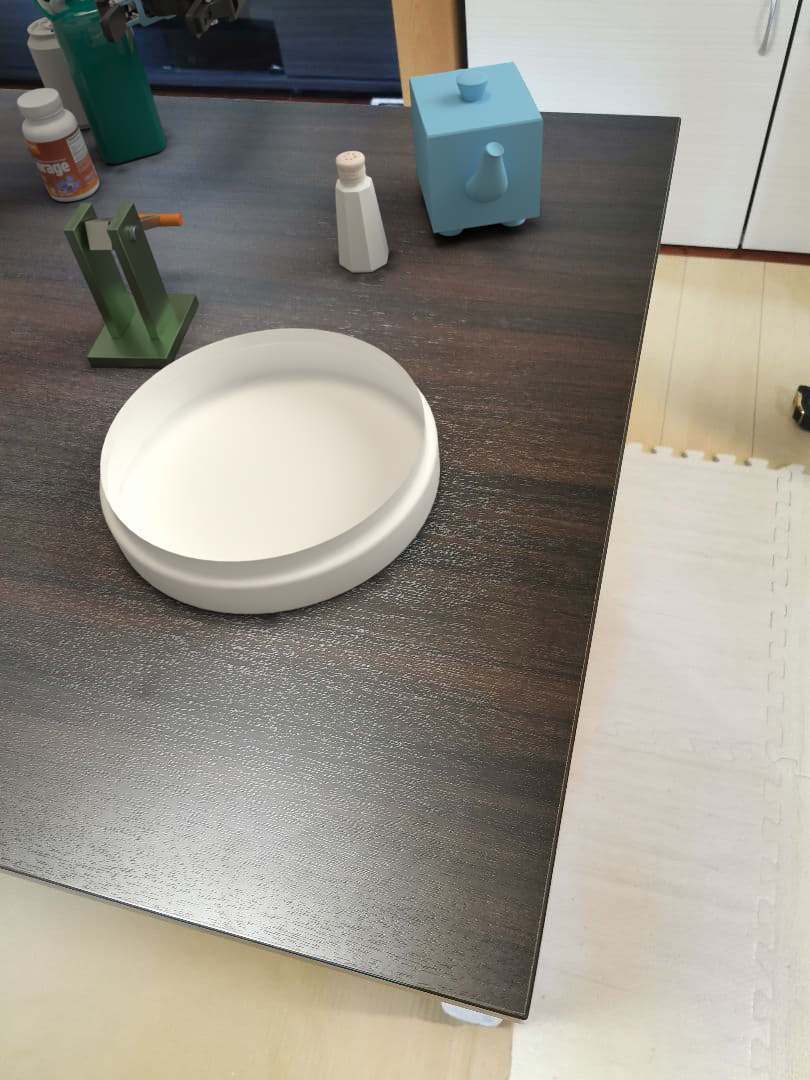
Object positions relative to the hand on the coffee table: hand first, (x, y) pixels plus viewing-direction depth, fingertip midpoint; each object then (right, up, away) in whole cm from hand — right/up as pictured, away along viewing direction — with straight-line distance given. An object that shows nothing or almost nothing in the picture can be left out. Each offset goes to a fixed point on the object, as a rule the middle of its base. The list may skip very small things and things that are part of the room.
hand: (149, 30), depth 81 cm
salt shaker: (+20, -20, +7) cm, 29 cm away
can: (-19, +8, +34) cm, 40 cm away
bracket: (-1, -29, +2) cm, 29 cm away
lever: (-1, -21, -1) cm, 21 cm away
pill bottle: (-16, -6, +22) cm, 28 cm away
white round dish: (+14, -44, -11) cm, 48 cm away
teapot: (+33, -14, +11) cm, 37 cm away
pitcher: (-11, +2, +28) cm, 30 cm away
